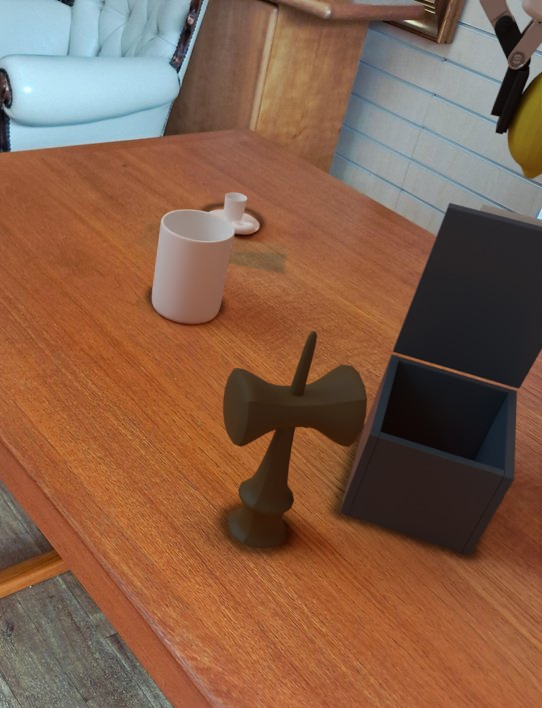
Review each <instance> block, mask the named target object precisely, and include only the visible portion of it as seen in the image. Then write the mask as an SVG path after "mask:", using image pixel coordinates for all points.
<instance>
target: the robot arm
mask: <svg viewBox="0 0 542 708" xmlns="http://www.w3.org/2000/svg"><path fill="white" fill-rule="evenodd" d="M478 1H479V4H480V6H481V8H482V10H483V12H484V14H485V16H486V17H487V20H488V21H489V23H490V25H491V27H492V29H493V31H494V34H495V36H496V38H497V41H498V43H499V46H500V47H501V50H502V52H503V55H504V56H505V59H506V61H507V65H508V66H507V69H506V71H505V73H504V76H503V79H502V82H501V85H500V87H499V89H498V92H497V95H496V98H495V100H494V103H493V104H492V108H491V111H490V116H494V117H498V118H497V121H496V126H495V134H499V135H503V134H508V128H509V125H510V123H511V120H512V118H513V115H514V113H515V110H516V108H517V105H518V103H519V100H520V98H521V95H522V93H523V92H524V90H525V89H526V85H527V83H528V80H529V77H530V74H531V73H530V72H531V67H530V65H531V62H532V56H533V55H534V54H535V52H536V51H537V49H538V48H539V47H540V46H541V45H542V0H521V6H522V10H523V11H524V13H525V14H526V15H528V16H529V17H530V18H531V20H530V21H529V22H528V23H527V24H526V26H525V27H524V28H523V30H522V31H521V30H520V28H519V25H518V23H517V20H516V18H515V16H514V15H513V13H512V11H511V10H510V7H509V5H508V3H507V0H478Z"/></svg>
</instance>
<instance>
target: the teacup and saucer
mask: <svg viewBox="0 0 542 708" xmlns="http://www.w3.org/2000/svg"><path fill="white" fill-rule="evenodd" d="M247 202H248V197H247V196H246V195H244V194H243V193H240V192H235V191H231V192H230V191H229V192H227V193H225V196H224V203H223V208H221V209H213V210H210V211H209V213H212V214H215V215H218V216H220V217H222V218H224V219H226V220H227V221H229V222H230V223H231V224H232V225H233V227H234V229H235V234H234V235H251V234H253V233H256V232H257V231H258V230H259V229H260V226H261V225H260V222H259V221H258V220H257V219H256V218H255V217H254V216H252V215H250V214H248V213H246V212H245V210H246V205H247Z"/></svg>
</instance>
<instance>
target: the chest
mask: <svg viewBox="0 0 542 708" xmlns="http://www.w3.org/2000/svg"><path fill="white" fill-rule="evenodd" d="M517 398H518V391H517V390H515V389H512V388H508V387H504V386H501V385H498V384H494V383H491V382H488V381H484V380H481V379H478V378H474V377H471V376H468V375H465V374H461V373H458V372H454V371H451V370H446V369H444V368H440V367H437V366H433V365H430V364H427V363H423V362H420V361H416V360H413V359H410V358H406V357H402V356H399V355H396V354H393V353H392V354H391V355H390V357H389V360H388V362H387V365H386V368H385V370H384V373H383V376H382V378H381V381H380V383H379V386H378V389H377V392H376V394H375V397H374V399H373V402H372V405H371V408H370V410H369V413H368V415H367V419H366V420H365V422H364V425H363V429H362V431H361V434H360V435H361V436H360V439H359V443H358V445H357V449H356V454H355V457H354V460H353V463H352V467H351V471H350V474H349V477H348V481H347V485H346V488H345V491H344V495H343V499H342V502H341V505H340V509H339V513H340V514H342V515H346V516H349V517H352V518H355V519H357V520H361V521H363V522H366V523H370V524H373V525H375V526H378V527H381V528H385V529H387V530H391V531H394V532H397V533H399V534H403V535H406V536H409V537H412V538H414V539H418V540H421V541H424V542H427V543H430V544H433V545H436V546H438V547H442V548H444V549H447V550H451V551H454V552H456V553H460V554H463V555H465V556H469V557H470V556H472V555H473V552H474V551H475V549H476V548H477V545H478V544H479V542H480V541H481V539H482V537H483V535H484V533H485V532H486V530H487V528H488V526H489V525H490V523H491V522H492V519H493V517H494V515H495V514H496V512H497V511H498V509H499V507H500V505H501V503H502V501H503V500H504V498H505V497H506V495H507V493H508V491H509V489H510V488H511V486H512V484H513V483H514V481H515V467H516V466H515V465H516V437H517V436H516V435H517V434H516V433H517V405H518V404H517V403H518V399H517Z"/></svg>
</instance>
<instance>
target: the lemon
mask: <svg viewBox="0 0 542 708" xmlns="http://www.w3.org/2000/svg"><path fill="white" fill-rule="evenodd" d="M507 147H508V151H509V154H510V156H511V158H512V160H514V161H515V162H514V163H516V164H518V166H519V167H520V168H521V171H522V174H523V176H524V178H526V179H528V180H533V179H535V178H537V177H539V176H540V175H542V71H540V72H539V73H538V74H537V75H536V76H535V77H534V78H533V79H532V80H531V81H530V82H529V83H528V84H527V86H525V88H524V90H523V93H522V95H521V98H520V100H519V103H518V105H517V108H516V110H515V113H514V115H513V118H512V120H511V123H510V125H509V128H508V130H507Z"/></svg>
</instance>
